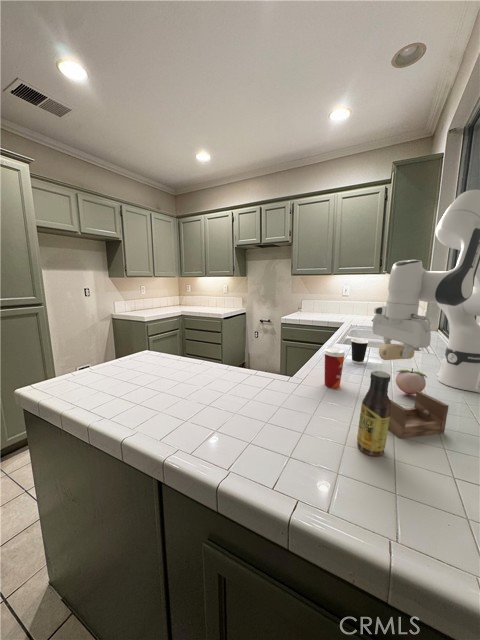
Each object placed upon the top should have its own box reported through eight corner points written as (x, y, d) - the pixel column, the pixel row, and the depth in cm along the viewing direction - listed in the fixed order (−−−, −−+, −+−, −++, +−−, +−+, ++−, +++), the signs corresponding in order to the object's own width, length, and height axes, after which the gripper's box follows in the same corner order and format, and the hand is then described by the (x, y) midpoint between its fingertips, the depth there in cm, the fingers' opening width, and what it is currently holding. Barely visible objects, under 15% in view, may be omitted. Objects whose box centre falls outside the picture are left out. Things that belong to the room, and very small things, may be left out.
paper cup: (344, 390, 99) (347, 354, 96) (322, 388, 100) (325, 352, 98) (340, 382, 106) (343, 348, 104) (320, 380, 108) (323, 346, 105)
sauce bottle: (351, 441, 68) (358, 367, 65) (374, 441, 68) (383, 367, 65) (365, 459, 61) (374, 378, 58) (391, 458, 62) (401, 377, 59)
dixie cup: (369, 363, 130) (372, 341, 128) (359, 365, 126) (362, 343, 124) (355, 358, 137) (357, 338, 135) (345, 361, 132) (347, 339, 131)
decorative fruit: (397, 398, 93) (400, 370, 91) (392, 388, 101) (395, 363, 99) (428, 402, 90) (432, 374, 89) (420, 392, 98) (424, 366, 96)
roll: (401, 356, 90) (403, 341, 89) (413, 360, 85) (415, 345, 84) (377, 357, 88) (379, 342, 87) (388, 362, 83) (390, 346, 83)
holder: (416, 415, 81) (419, 391, 80) (444, 432, 73) (448, 405, 71) (375, 420, 78) (378, 394, 77) (399, 438, 70) (403, 410, 68)
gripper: (440, 317, 75) (433, 363, 77) (386, 307, 94) (382, 345, 97) (421, 317, 73) (414, 365, 76) (370, 308, 93) (367, 346, 95)
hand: (396, 353), depth 86 cm, fingers closed on roll, 5 cm apart
